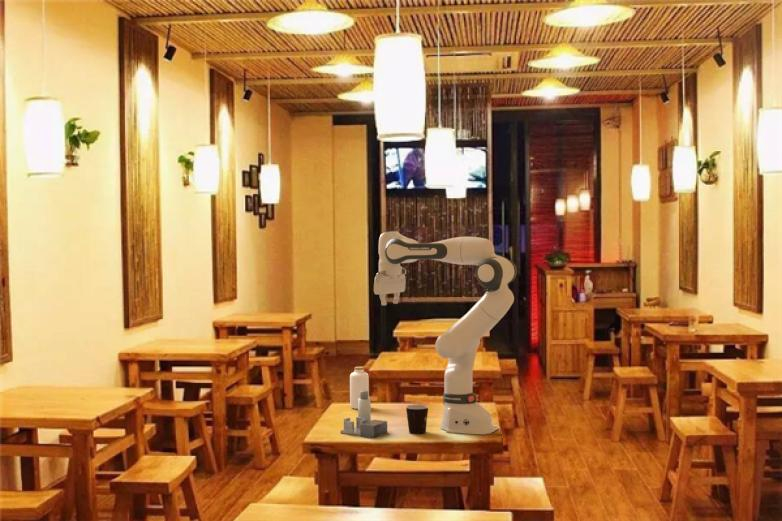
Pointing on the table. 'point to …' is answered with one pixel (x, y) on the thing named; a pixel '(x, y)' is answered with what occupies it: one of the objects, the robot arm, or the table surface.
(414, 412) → the coffee mug
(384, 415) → the table surface
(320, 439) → the table surface
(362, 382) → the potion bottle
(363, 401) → the white lotion bottle
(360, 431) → the bottle holder
